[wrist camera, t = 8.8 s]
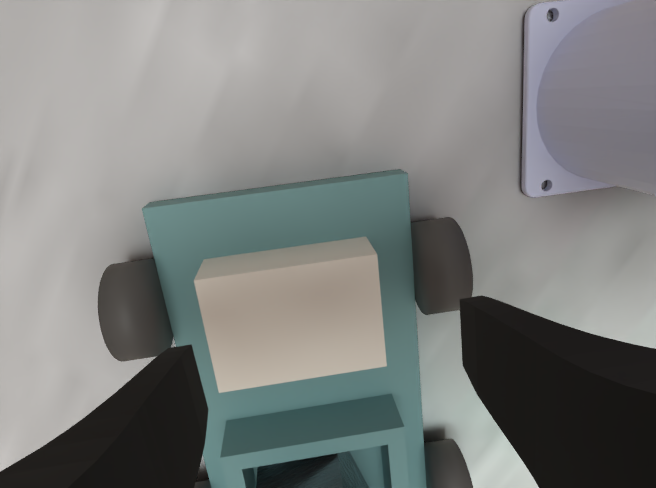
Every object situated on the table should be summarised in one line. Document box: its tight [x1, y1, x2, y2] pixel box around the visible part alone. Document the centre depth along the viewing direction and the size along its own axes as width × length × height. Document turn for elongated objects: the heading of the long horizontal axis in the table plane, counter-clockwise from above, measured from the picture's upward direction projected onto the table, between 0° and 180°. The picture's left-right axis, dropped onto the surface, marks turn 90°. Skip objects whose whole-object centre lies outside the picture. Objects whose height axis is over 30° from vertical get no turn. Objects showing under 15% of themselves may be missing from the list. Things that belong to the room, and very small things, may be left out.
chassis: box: [98, 169, 473, 488], centre depth 21 cm, size 14×20×4 cm
